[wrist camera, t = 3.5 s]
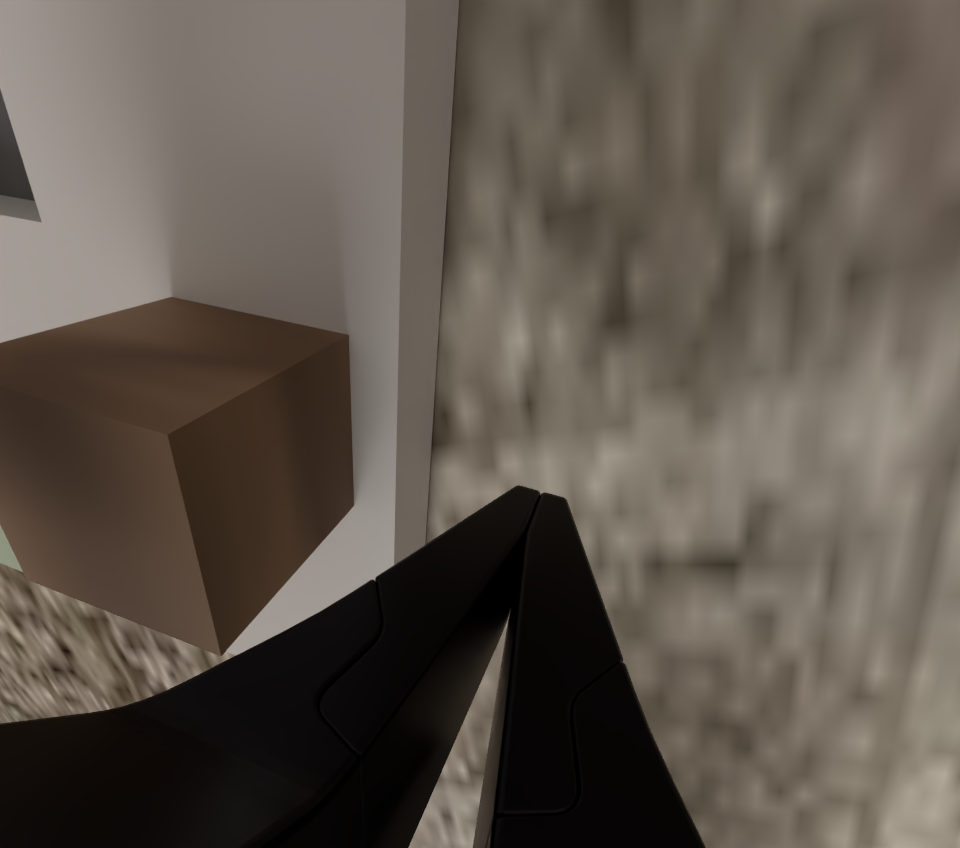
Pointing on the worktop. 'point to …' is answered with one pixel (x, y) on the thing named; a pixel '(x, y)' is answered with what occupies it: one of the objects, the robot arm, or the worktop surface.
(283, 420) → the walnut block
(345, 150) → the trap deck
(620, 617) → the worktop surface
